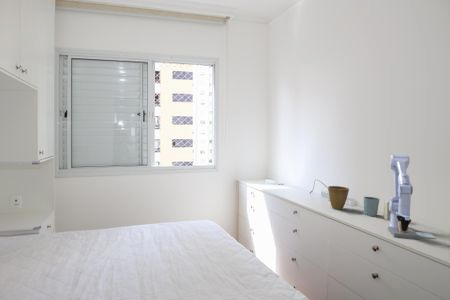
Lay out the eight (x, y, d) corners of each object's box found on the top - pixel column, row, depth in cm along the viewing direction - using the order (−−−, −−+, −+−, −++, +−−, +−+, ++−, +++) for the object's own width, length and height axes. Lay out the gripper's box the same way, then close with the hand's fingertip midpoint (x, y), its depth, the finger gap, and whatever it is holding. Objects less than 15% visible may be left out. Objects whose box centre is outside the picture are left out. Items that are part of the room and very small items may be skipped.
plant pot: (323, 208, 242) (324, 186, 241) (333, 205, 252) (334, 185, 251) (341, 211, 231) (342, 189, 230) (351, 209, 241) (352, 188, 240)
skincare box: (392, 218, 216) (393, 200, 215) (395, 220, 211) (396, 202, 211) (383, 218, 215) (384, 200, 215) (386, 220, 211) (387, 201, 210)
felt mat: (412, 232, 184) (412, 231, 184) (429, 234, 182) (429, 233, 182) (417, 237, 176) (417, 235, 176) (435, 238, 173) (435, 237, 173)
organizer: (388, 229, 188) (388, 226, 188) (410, 232, 185) (410, 228, 185) (394, 236, 174) (394, 233, 174) (418, 239, 171) (419, 235, 171)
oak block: (397, 233, 182) (398, 220, 182) (405, 233, 181) (406, 221, 181) (399, 235, 178) (400, 222, 178) (407, 235, 177) (408, 223, 177)
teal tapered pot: (359, 213, 227) (360, 197, 226) (369, 212, 231) (370, 196, 231) (372, 217, 218) (372, 199, 217) (381, 216, 222) (382, 198, 222)
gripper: (393, 202, 187) (391, 225, 188) (400, 207, 173) (398, 232, 174) (406, 203, 185) (405, 226, 186) (414, 209, 171) (413, 234, 172)
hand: (402, 229), depth 180 cm, fingers closed on oak block, 4 cm apart
